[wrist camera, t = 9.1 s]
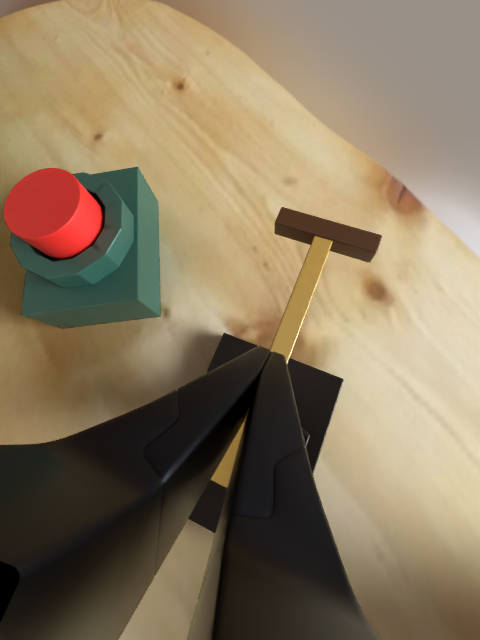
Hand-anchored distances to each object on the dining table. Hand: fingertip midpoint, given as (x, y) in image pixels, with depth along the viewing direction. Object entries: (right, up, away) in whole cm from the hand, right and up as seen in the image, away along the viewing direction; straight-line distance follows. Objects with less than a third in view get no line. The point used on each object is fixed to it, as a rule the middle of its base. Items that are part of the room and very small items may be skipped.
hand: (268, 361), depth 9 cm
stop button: (-13, +8, +11) cm, 19 cm away
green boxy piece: (-12, +6, +17) cm, 21 cm away
